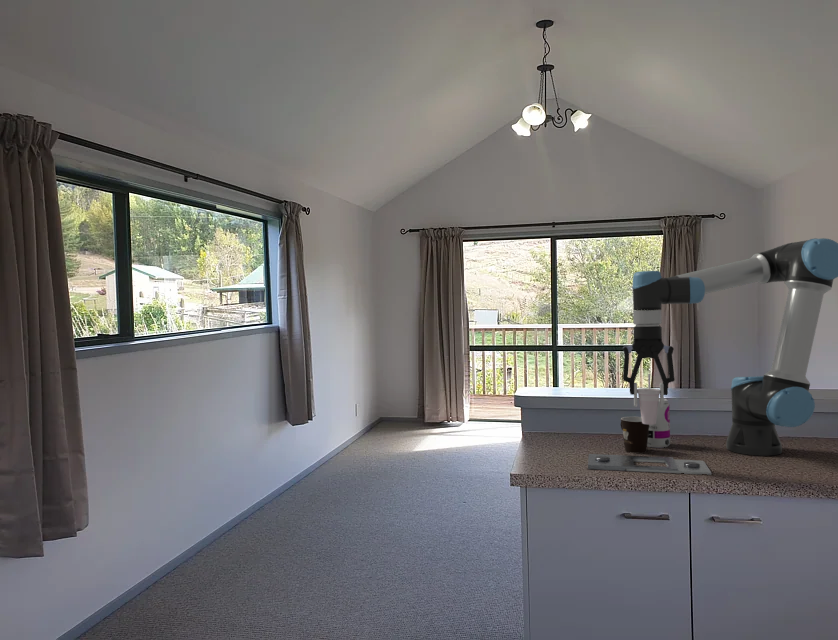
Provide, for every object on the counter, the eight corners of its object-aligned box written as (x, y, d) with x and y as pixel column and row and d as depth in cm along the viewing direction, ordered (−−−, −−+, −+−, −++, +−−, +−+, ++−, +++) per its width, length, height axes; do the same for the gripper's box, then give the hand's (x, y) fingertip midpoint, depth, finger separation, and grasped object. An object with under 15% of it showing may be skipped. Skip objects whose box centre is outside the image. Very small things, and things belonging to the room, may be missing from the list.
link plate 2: (703, 462, 176) (703, 458, 176) (711, 474, 164) (711, 470, 164) (624, 459, 182) (624, 455, 182) (626, 470, 170) (626, 466, 170)
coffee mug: (652, 454, 188) (651, 421, 187) (623, 453, 189) (622, 421, 189) (646, 445, 199) (645, 415, 199) (618, 445, 201) (618, 414, 200)
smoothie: (664, 422, 174) (664, 374, 174) (655, 426, 169) (655, 376, 169) (642, 420, 178) (642, 372, 178) (633, 423, 174) (632, 374, 173)
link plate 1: (672, 461, 178) (672, 455, 178) (678, 473, 166) (678, 466, 166) (588, 457, 185) (588, 451, 185) (588, 469, 173) (587, 462, 173)
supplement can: (672, 444, 200) (671, 398, 200) (667, 449, 193) (666, 402, 193) (646, 441, 205) (645, 397, 204) (640, 446, 198) (639, 400, 197)
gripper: (682, 324, 174) (683, 404, 175) (611, 325, 180) (613, 403, 180) (685, 325, 167) (687, 409, 167) (612, 326, 172) (613, 407, 173)
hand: (648, 406), depth 174 cm, fingers closed on smoothie, 6 cm apart
